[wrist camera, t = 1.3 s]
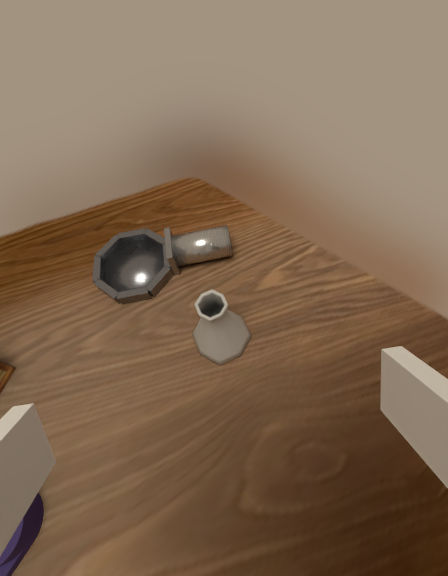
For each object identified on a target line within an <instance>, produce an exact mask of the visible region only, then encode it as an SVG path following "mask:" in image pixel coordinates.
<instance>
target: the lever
mask: <svg viewBox="0 0 448 576" xmlns="http://www.w3.org/2000/svg"><path fill="white" fill-rule="evenodd" d="M42 521H43V502H42V499H41V496H40V495H39V493H37V495H36V497H35V498H34V500H33V502H32V504H31V505H30V507H29V509H28V510H27V512H26V514H25V515H24V517H23V519H22V520H21V522H20V524H19V526H18V527H17V529H16V531H15V532H14V534H13V536H12V537H11V539H10V541H9V542H8V544H7V546H6V548H5V549H4V551H3V553H2V554H1V556H0V576H11V575H12V574H13V572H14V571H15V569H16V568H17V566H18V565H19V563H20V562H21V560H22V559H23V557H24V556H25V554H26V553H27V551H28V550H29V548H30V547H31V545H32V544H33V542H34V540H35V539H36V537H37V535H38V533H39V531H40V528H41V525H42Z"/></svg>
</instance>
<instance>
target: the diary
mask: <svg viewBox="0 0 448 576" xmlns="http://www.w3.org/2000/svg"><path fill="white" fill-rule="evenodd" d="M15 369H16V368H14V367H12V366H9V365H6V364H4V363H1V362H0V393H1V392H2V390H3V388H4V387H5V385H6V384H7V382H8V380H9V379H10V377H11V375H12V374H13V372H14V371H15Z"/></svg>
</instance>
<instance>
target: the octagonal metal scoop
mask: <svg viewBox="0 0 448 576" xmlns="http://www.w3.org/2000/svg"><path fill="white" fill-rule="evenodd" d="M164 234H165V238H163V237H161V236H160V235H158V234H156V233H154V232H152V231H151V230H149V229H145V228H144V229H139V230H134V231H129V232H123V233H118V236H117V235H115V236H114V237H113V238H112V239H111V240H110V241H109V242H108V243H107V244H106V245H105V246H104V247H102V248H101V249H100V250H99V251H98V252H97V253H96V254H95V255H96V256H95V257H94V268H93V282H94V284H95V285H96V286H97V287H98V288H99V289H100V290H101V291H103V292H104V293H105V294H107V295H108V296H110V297H111V298H112V299H114V300H115V301H116V302H118V303H119V304H120V303H121V304H127V303H132V302H137V301H142V300H147V299H152V296H153V297H155V296H156V295H157V294H158V293H159V291H160V290H161V289H162V288H163V287H164V286H165V285H166V283H167V282H168V281H169V280H170V279H171V278H172V276H173V275H179V274H180V268H179V266H182V265H187V264H192V263H198V262H203V261H208V260H213V259H218V258H223V257H229V256H233V254H232V247H231V242H230V236H229V231H228V227H227V225H225V226H220V227H215V228H210V229H205V230H200V231H195V232H189V233H184V234H179V235H174V236H173V234H172V232H171V230H170V227H169V228H164ZM173 273H174V274H173Z"/></svg>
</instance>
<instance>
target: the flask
mask: <svg viewBox="0 0 448 576" xmlns="http://www.w3.org/2000/svg"><path fill="white" fill-rule="evenodd" d="M194 305H195V308H196V310H197V312H198V315H199V316H200V320H199V323H198V325H197V327H196V328H195V330H194V332H193V334H192V335H193V338H194V340H195V343H196V345H197V348H198V350H199V353H200V355H202V356H204V357H206V358H207V359H209V360H211V361H213V362H214V363H216V364H218V365H222V364H224V363H226V362H228V361H230V360H233V359H235V358H237V357H239V356H241V355H242V353H243V351H244V349H245V347H246V345H247V344H248V342H249V340H250V338H251V334H250V332H249V330H248V328H247V326H246V324H245V322H244V320H243V318H242V317H241V316H239V315H237V314H235V313H233V312H231V311H229V310H228V309H227V308H228V303H227V301H226V299H225V297H224V295H223V294H221V293H219V292H217V291H215V290H213V289H212V290H209V291H207V292H205V293H202V294H201V295H200V296H199V298H198V299H197V301H196V302H195V304H194Z"/></svg>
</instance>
